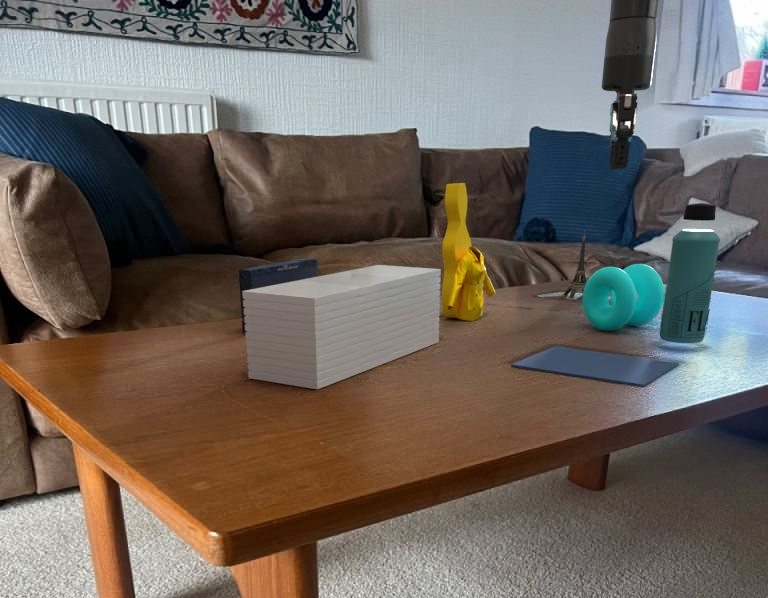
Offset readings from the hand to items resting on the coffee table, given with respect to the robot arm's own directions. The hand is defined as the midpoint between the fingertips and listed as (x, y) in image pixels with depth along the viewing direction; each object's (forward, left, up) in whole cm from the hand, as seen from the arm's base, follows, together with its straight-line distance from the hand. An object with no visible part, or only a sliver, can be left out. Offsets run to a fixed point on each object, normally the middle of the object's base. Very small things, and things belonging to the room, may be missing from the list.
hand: (617, 168), depth 128 cm
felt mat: (-13, +35, -24) cm, 44 cm away
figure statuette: (+20, +14, -24) cm, 35 cm away
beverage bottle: (-19, +17, -24) cm, 35 cm away
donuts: (-6, +7, -24) cm, 26 cm away
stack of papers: (+16, +51, -24) cm, 59 cm away
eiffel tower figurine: (+11, -17, -24) cm, 32 cm away
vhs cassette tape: (+41, +38, -24) cm, 61 cm away
